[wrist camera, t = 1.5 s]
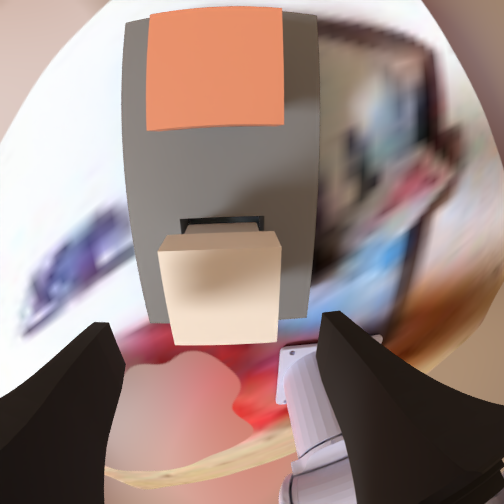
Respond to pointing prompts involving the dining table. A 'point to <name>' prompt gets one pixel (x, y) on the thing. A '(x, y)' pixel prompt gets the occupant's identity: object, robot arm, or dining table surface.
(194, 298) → the cream cube block
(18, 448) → the robot arm
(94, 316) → the dining table surface
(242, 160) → the panel
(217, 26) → the terracotta plunger
